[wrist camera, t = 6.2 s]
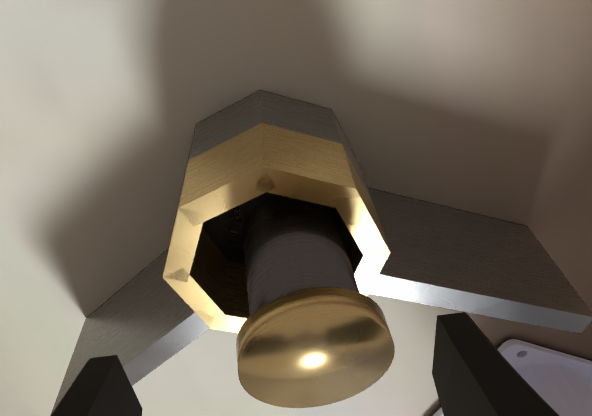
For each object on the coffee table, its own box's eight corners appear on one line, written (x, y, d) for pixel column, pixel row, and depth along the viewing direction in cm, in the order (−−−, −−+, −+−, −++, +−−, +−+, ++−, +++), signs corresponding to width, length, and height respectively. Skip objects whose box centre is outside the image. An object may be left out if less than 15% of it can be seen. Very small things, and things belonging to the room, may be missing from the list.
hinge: (564, 173, 19) (648, 258, 15) (421, 376, 26) (453, 474, 22) (119, 51, 16) (71, 120, 11) (84, 325, 22) (46, 431, 18)
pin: (348, 146, 18) (424, 330, 12) (302, 223, 20) (346, 414, 14) (249, 112, 17) (278, 300, 10) (209, 199, 19) (215, 399, 12)
